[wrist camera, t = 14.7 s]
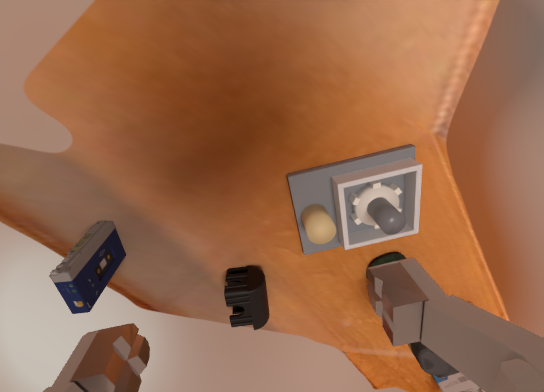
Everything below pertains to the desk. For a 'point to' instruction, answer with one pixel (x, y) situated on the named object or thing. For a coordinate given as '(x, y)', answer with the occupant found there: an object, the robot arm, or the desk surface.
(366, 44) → the desk surface
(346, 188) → the carrier board
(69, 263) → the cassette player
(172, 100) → the desk surface
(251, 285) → the end cap
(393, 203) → the gear
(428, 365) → the coffee jar
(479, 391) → the ink box
